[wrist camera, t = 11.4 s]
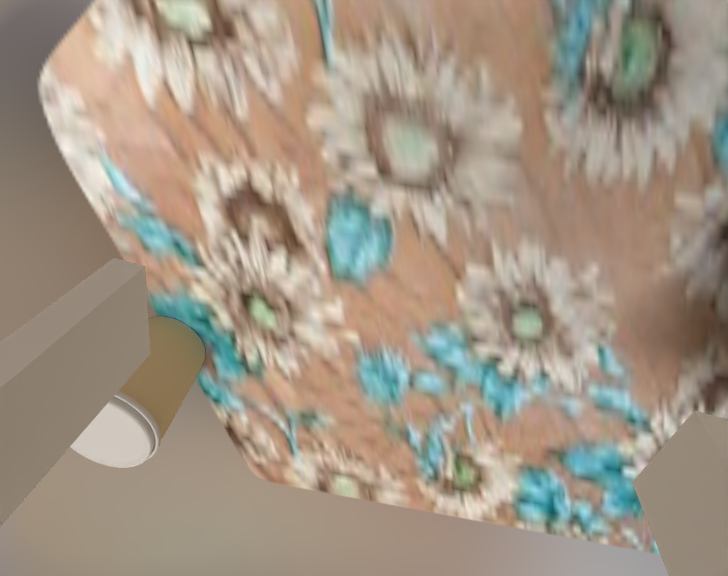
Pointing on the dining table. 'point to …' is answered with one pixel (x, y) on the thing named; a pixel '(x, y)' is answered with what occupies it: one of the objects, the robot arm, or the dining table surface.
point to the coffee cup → (145, 398)
